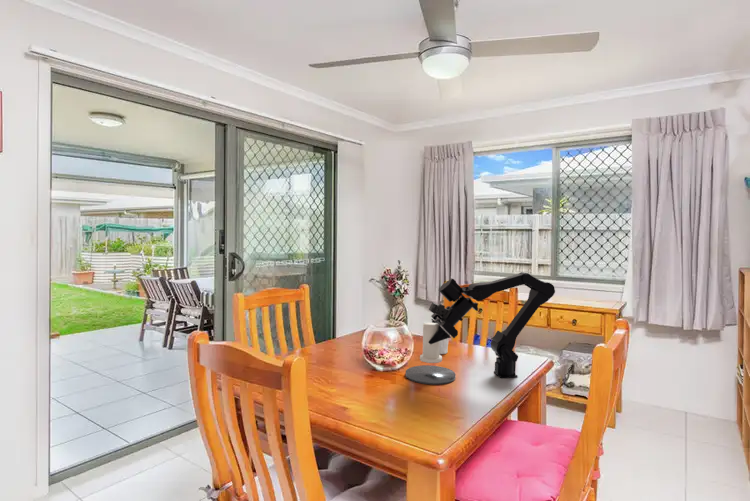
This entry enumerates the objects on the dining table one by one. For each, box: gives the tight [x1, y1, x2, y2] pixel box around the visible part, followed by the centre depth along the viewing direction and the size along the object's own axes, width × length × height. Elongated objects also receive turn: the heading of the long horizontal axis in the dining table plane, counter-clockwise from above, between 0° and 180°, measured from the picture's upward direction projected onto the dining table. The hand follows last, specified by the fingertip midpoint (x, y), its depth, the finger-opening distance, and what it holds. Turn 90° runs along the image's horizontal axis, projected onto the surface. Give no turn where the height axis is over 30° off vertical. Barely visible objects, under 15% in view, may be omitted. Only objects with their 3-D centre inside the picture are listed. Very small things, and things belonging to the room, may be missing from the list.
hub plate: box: [405, 364, 457, 386], centre depth 162 cm, size 18×18×1 cm
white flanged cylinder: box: [419, 322, 443, 364], centre depth 161 cm, size 8×8×13 cm
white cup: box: [439, 338, 450, 355], centre depth 194 cm, size 8×8×10 cm
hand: (427, 341), depth 161 cm, fingers closed on white flanged cylinder, 6 cm apart
